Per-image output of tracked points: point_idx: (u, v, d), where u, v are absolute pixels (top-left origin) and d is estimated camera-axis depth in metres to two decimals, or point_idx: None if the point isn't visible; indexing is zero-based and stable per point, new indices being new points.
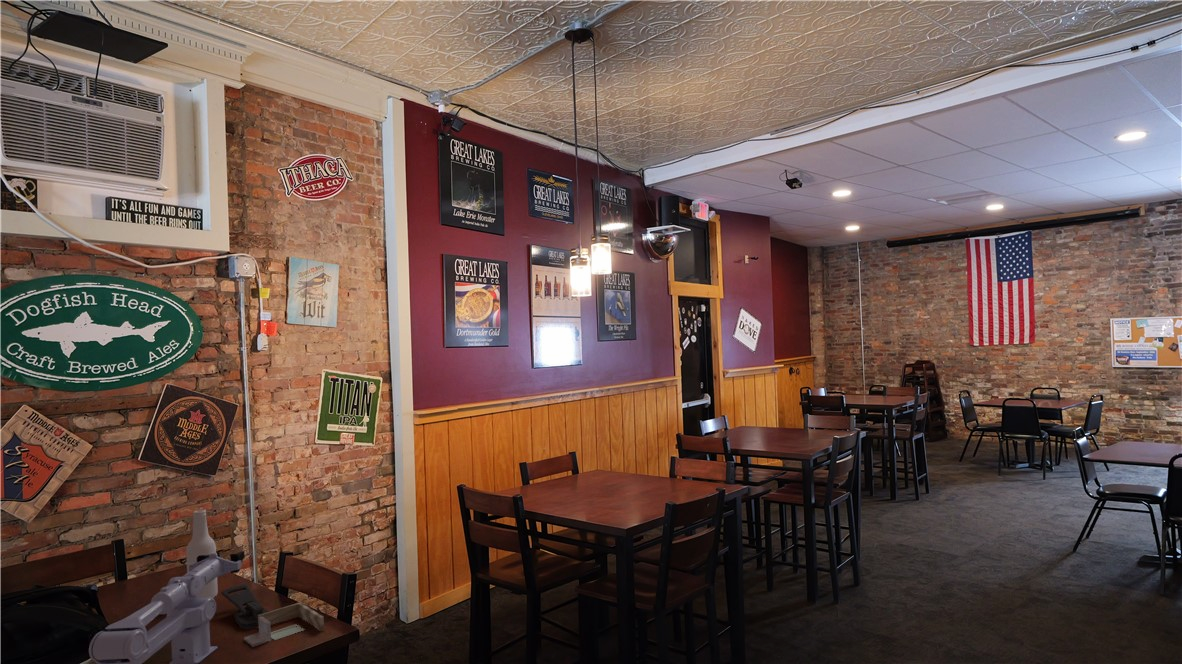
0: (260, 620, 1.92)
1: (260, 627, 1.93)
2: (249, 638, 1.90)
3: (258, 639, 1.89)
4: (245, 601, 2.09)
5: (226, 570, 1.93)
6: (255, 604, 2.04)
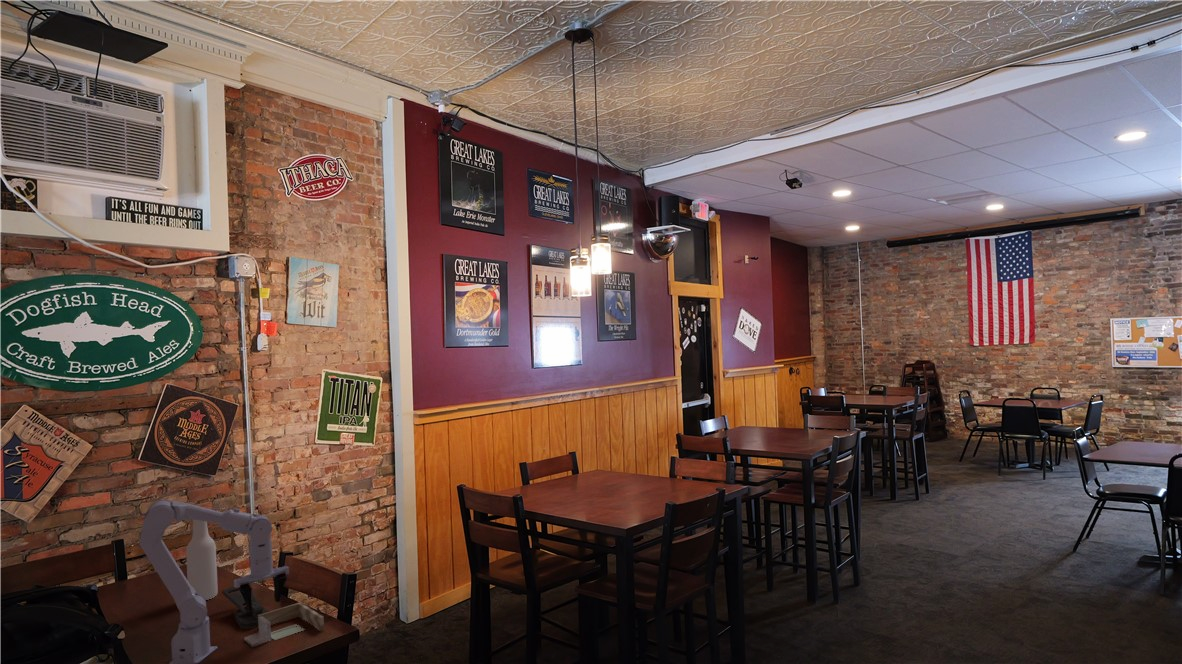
0: (260, 620, 1.92)
1: (260, 627, 1.93)
2: (249, 638, 1.90)
3: (258, 639, 1.89)
4: None
5: None
6: (255, 604, 2.04)
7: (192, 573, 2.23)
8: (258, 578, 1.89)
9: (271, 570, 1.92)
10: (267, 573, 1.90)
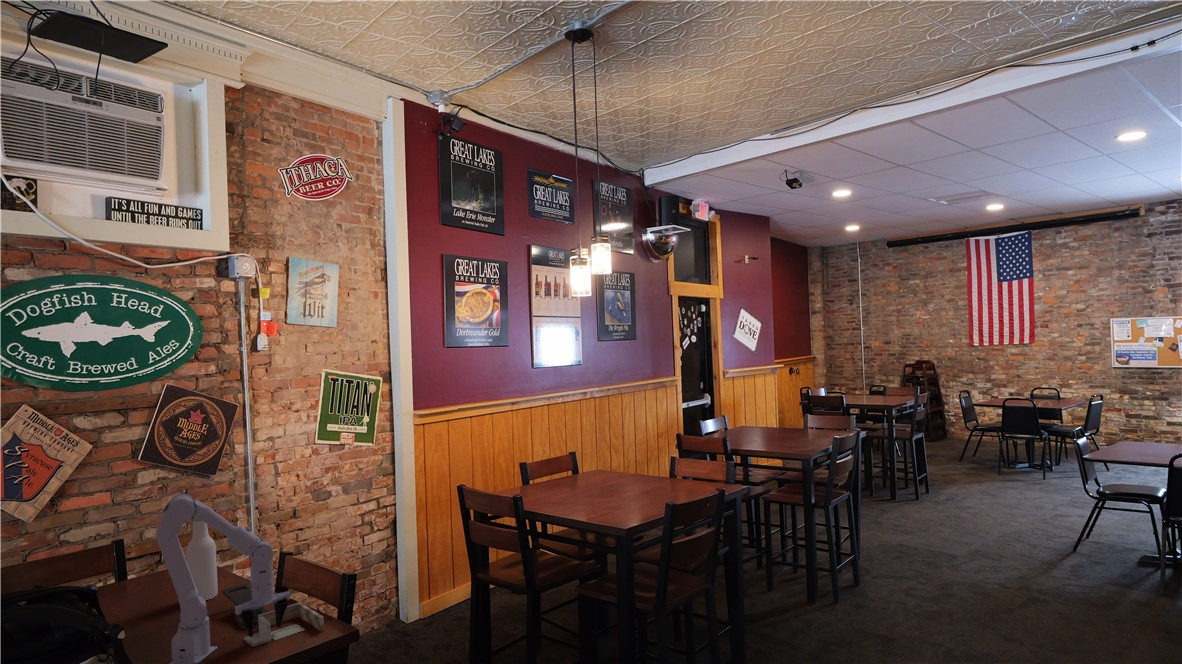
0: (260, 620, 1.92)
1: (260, 627, 1.93)
2: (249, 638, 1.90)
3: (258, 639, 1.89)
4: (245, 601, 2.09)
5: (249, 603, 1.90)
6: None
7: (192, 573, 2.23)
8: (259, 604, 1.89)
9: (272, 596, 1.92)
10: (268, 599, 1.90)
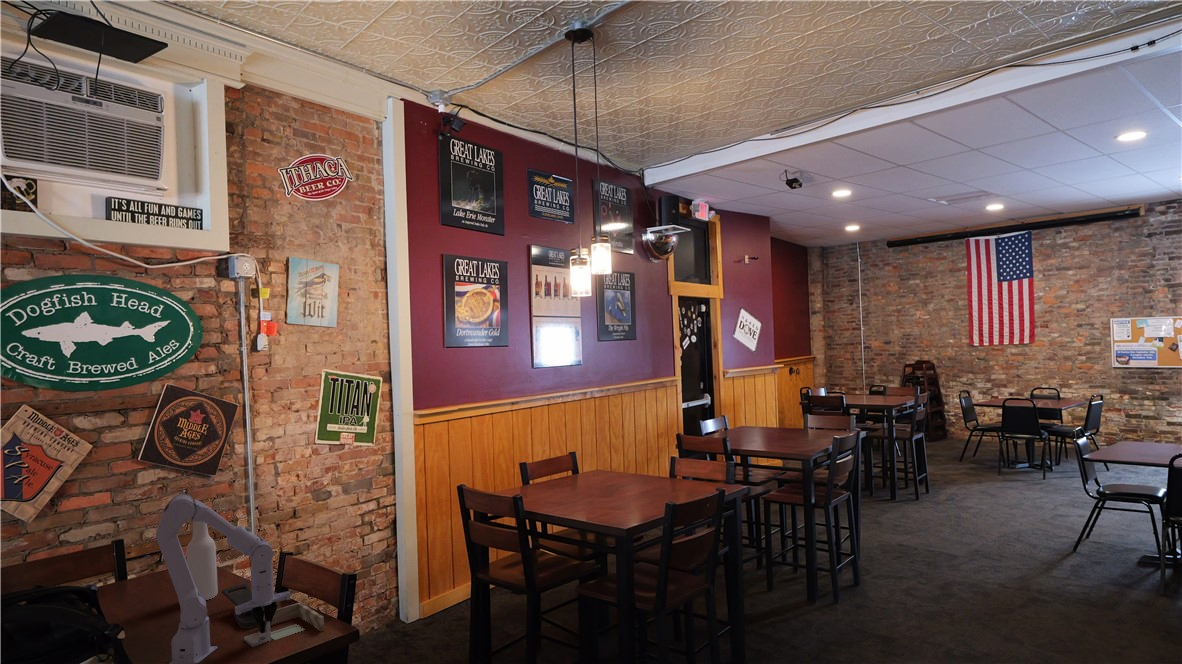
0: None
1: None
2: (249, 638, 1.90)
3: (258, 638, 1.89)
4: (245, 601, 2.09)
5: (249, 603, 1.90)
6: None
7: (192, 573, 2.23)
8: (259, 604, 1.89)
9: (272, 596, 1.92)
10: (268, 599, 1.90)
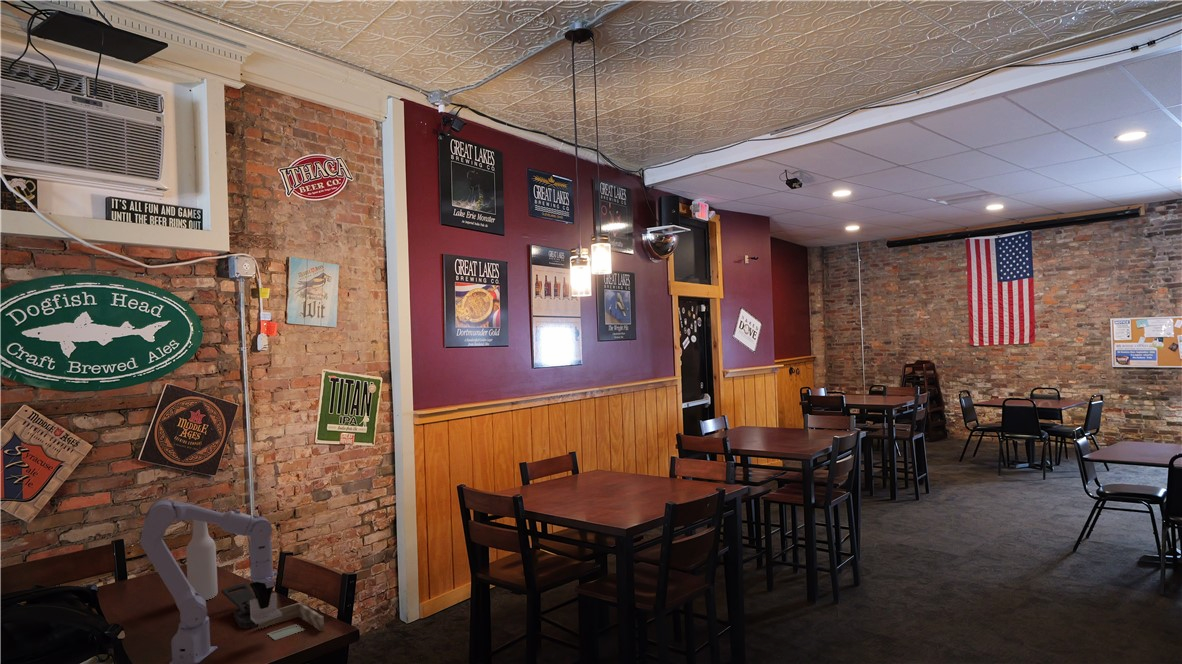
0: (257, 601, 1.90)
1: (256, 608, 1.90)
2: (264, 617, 1.88)
3: (273, 612, 1.91)
4: (244, 600, 2.09)
5: None
6: None
7: (192, 573, 2.23)
8: (273, 575, 1.92)
9: None
10: None
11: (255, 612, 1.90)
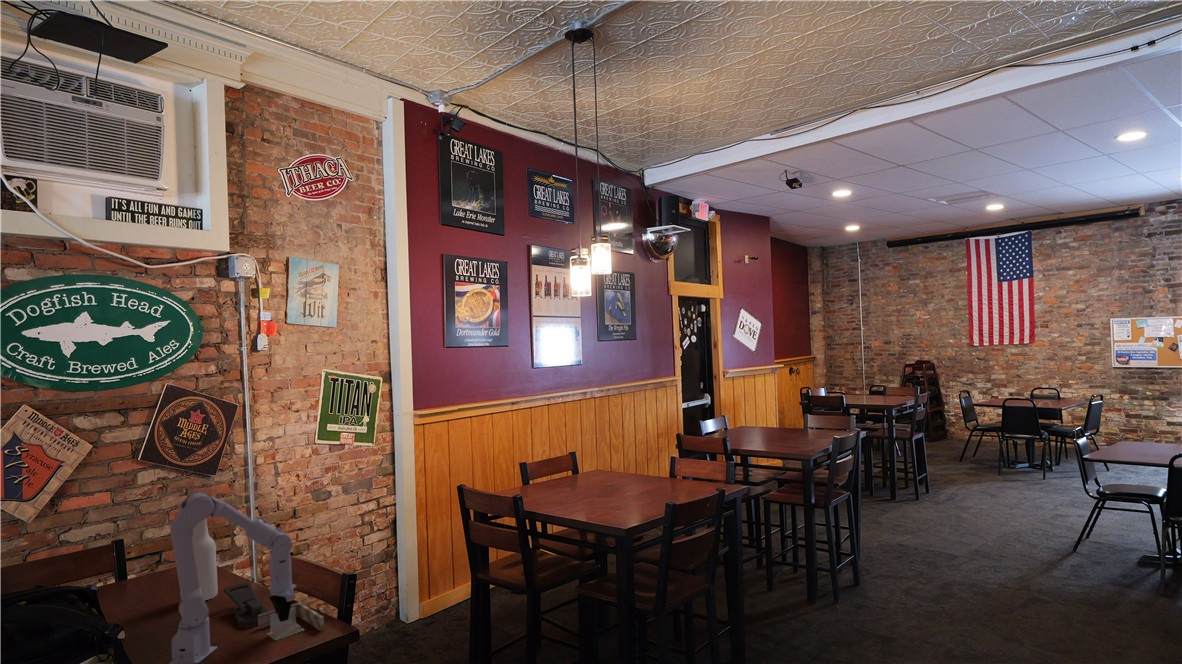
0: (277, 615, 1.95)
1: (276, 623, 1.94)
2: (284, 631, 1.93)
3: (292, 626, 1.96)
4: (245, 600, 2.10)
5: (281, 594, 1.93)
6: (254, 603, 2.05)
7: None
8: (293, 588, 1.97)
9: None
10: None
11: (275, 626, 1.94)
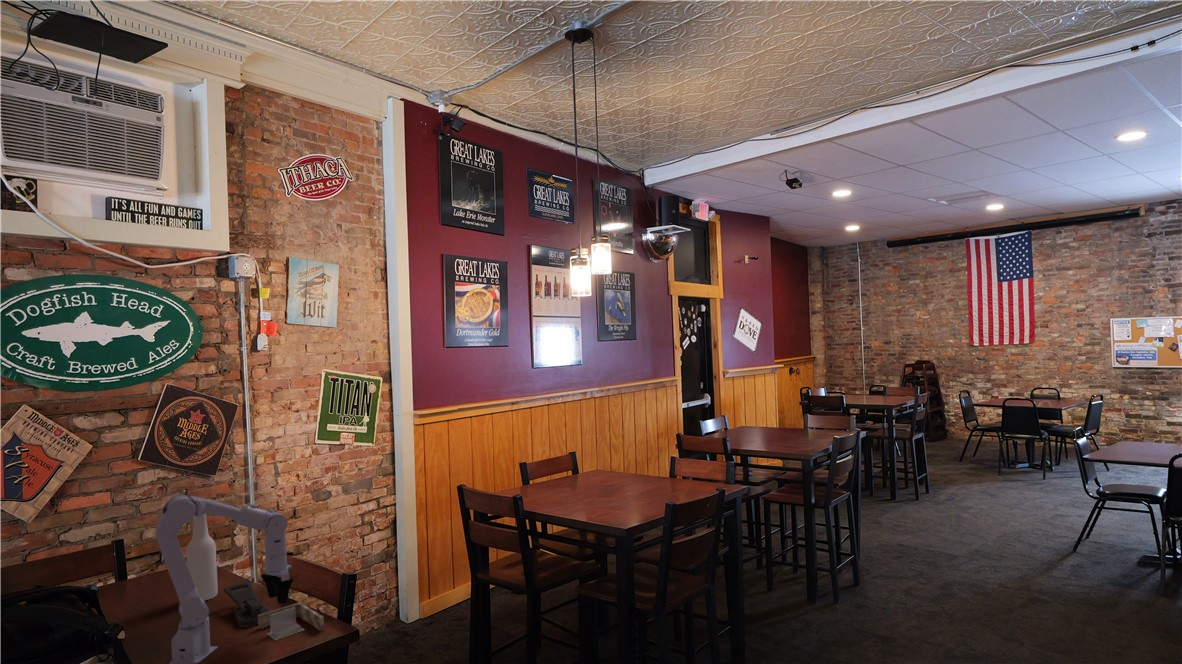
0: (277, 615, 1.95)
1: (276, 623, 1.94)
2: (284, 631, 1.93)
3: (292, 626, 1.96)
4: (245, 599, 2.11)
5: None
6: (254, 602, 2.06)
7: (192, 573, 2.23)
8: (287, 568, 1.96)
9: None
10: None
11: (275, 626, 1.94)
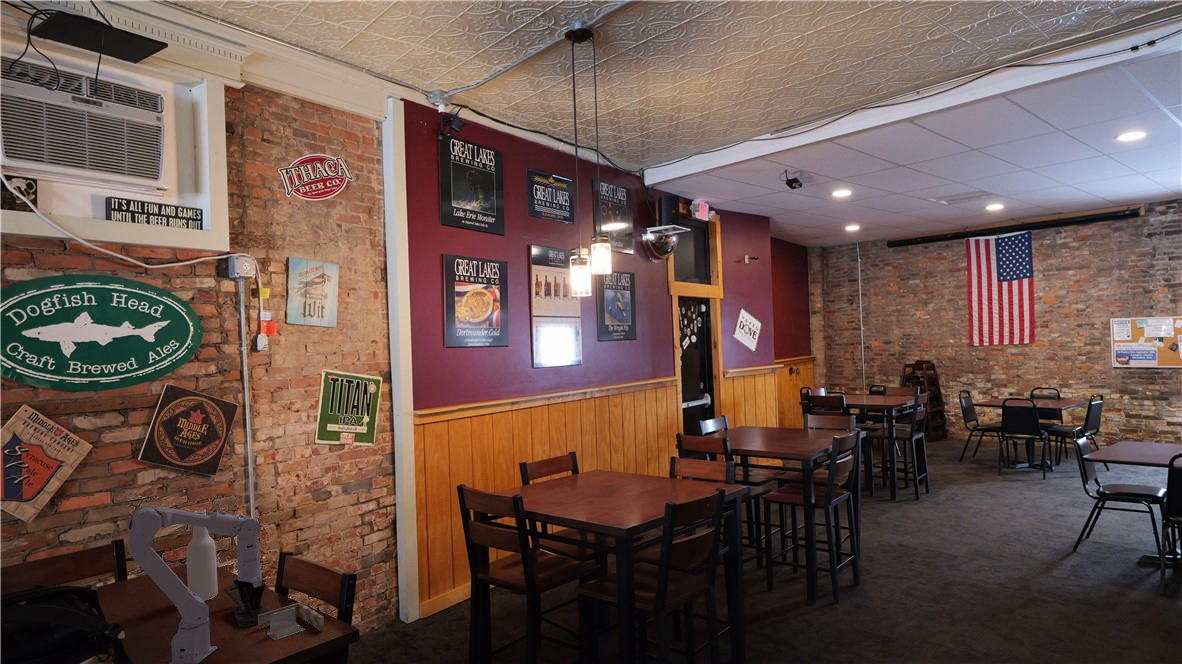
0: (277, 615, 1.95)
1: (276, 623, 1.94)
2: (284, 631, 1.93)
3: (292, 626, 1.96)
4: None
5: None
6: None
7: (192, 573, 2.23)
8: (260, 574, 1.92)
9: None
10: None
11: (275, 626, 1.94)
